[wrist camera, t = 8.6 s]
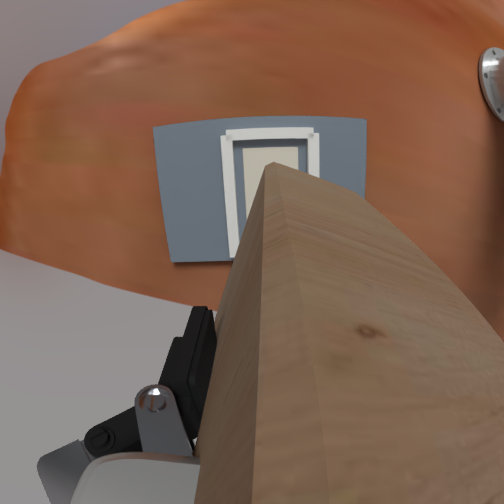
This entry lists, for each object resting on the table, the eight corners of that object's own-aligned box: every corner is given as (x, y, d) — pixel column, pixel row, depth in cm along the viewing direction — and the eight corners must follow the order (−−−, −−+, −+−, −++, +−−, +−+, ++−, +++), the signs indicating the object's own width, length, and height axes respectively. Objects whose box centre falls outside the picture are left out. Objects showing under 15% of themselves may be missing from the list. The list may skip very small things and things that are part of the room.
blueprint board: (361, 119, 29) (369, 119, 27) (355, 251, 36) (361, 259, 34) (157, 126, 30) (149, 127, 28) (174, 257, 37) (169, 265, 35)
